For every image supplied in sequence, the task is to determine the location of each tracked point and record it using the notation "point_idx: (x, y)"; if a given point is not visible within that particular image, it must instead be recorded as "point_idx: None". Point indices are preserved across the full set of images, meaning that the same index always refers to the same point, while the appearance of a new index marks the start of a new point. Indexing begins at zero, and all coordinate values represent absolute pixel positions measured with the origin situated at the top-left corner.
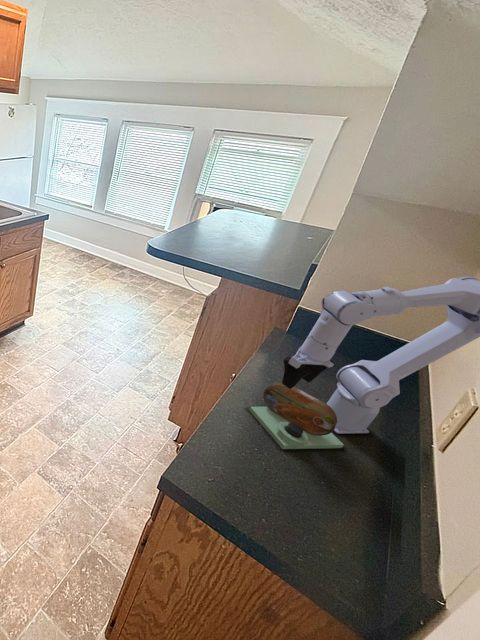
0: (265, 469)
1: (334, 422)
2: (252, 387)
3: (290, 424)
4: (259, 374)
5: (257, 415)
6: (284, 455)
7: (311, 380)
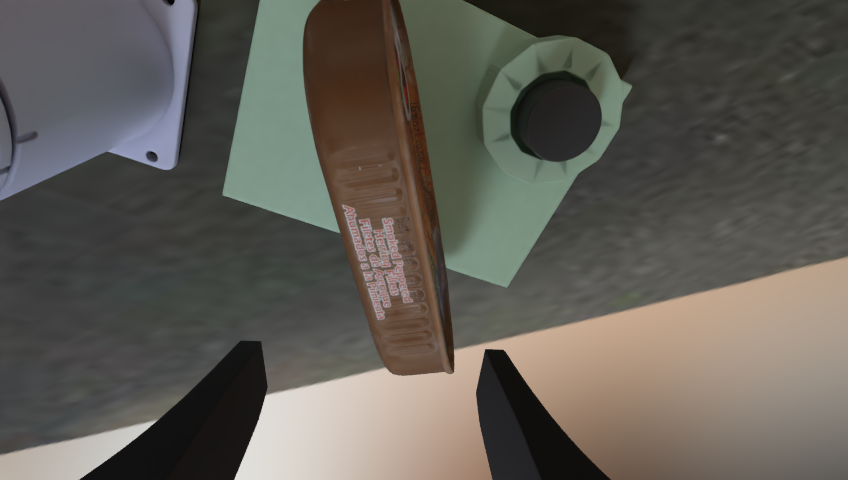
0: (823, 49)
1: (377, 7)
2: (346, 340)
3: (564, 153)
4: None
5: (530, 247)
6: (653, 54)
7: (246, 357)
